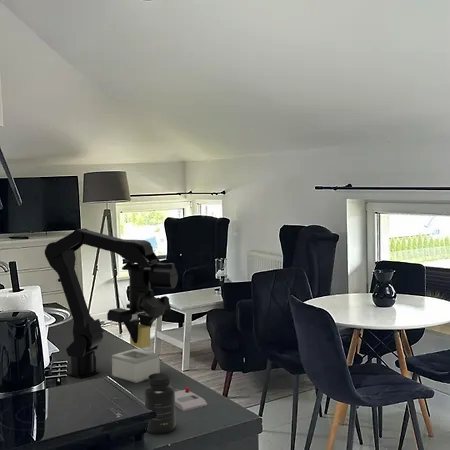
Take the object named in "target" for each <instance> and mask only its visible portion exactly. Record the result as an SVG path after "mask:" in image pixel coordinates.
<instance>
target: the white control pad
mask: <svg viewBox="0 0 450 450" xmlns="http://www.w3.org/2000/svg"><path fill="white" fill-rule="evenodd" d="M174 391H175V408H177V407H178V409H180V410H181V411H183V412H186V411H187V412H188V411H192V410H195V408H196V409H200V408H204V407H203V406H205V407H207V406H208V403H207V401H206V400H205V398H203V397H201V396H199V395H198V394H195V393H194V392H192V391H190V388H189V387H188V386H186V387H185V389H177V388H175V389H174ZM199 407H200V408H199Z"/></svg>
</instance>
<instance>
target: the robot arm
mask: <svg viewBox="0 0 450 450" xmlns="http://www.w3.org/2000/svg"><path fill="white" fill-rule="evenodd" d="M83 245H86V246H89V247H92V248H97V249H100V250H103V251H107V252H112V253H115V254H116V255H119V256H120V257H121V258H122V259H124V260H126V261H127V262H126V264H125V265H123V266H122V268H121V269H122V271H128V273H129V274H128V275H129V276H128V277H129V279H128V280H129V283H128V284H129V289H126V293H125V294H128V295H129V303H127V304H126V308H123V307H117V308H112V309H109V310H108V311H107V315H106V316H107V317H106V319H107V321H110V322H114V323H118V324H124V325H125V327H126V329H127V332H128V334H129V337H130V336H131V338H132V340H133V342H134V343H137V340H138V324H142V325H146V326H150V329H151V328H152V325H153V323H154V322H155V321H156V320H157V319H159V318H160V316H162V317H163V316H164V314H171V307H172V306H171V305H170V297H168V296H167V295H163V296H161V297H156V296H155V292H154V289H151V286H152V287H154V288H161V289H175V288H176V286H177V284H178V281H179V275H178V272H177V269H176V267H175V263H174V262H169V263H165V262H164V263H163V262H162V261H160V259H159V258H158V256H157V255H156V253H155V252H154V249H153V246H152V244H151V242H150V241H148V240H145V239H123V238H119V237H115V236H112V235H108V234H104V233H101V232H96V231H93V230H90V229H87V228H85V227H84V228H77V229H74V230H73V231H72V232H70V233H69V234H67V235H65V236H64V237H62V238H60V239H58V240H57V241H53V242H49V243H48V244H47V245H46V247H45V249H44V257H45V258H46V261H47V263H48V264H49V266H50V267H51V268H52V269H53V271H55V272H56V273H57V275H58V278H59V280H60V281H59V282H60V284H61V286H62V287H61V288H62V290H63V294H64V296H65V299H66V302H67V305H68V308H69V311H70V314H71V317H72V320H73V324H72V339H73V340H72V342H71V343H70V344H69V345H68V346H67V347H66V348H65V350H66V353H67V356H68V357H70V371H68V373H67V375H69V376H72V377H76V378H78V379H83V378H88V377H90V376H93V375H96V374H99V373H100V371H99V370H97V356H96V350H98V348H99V345H100V344H101V343H102V341H103V339H104V332H105V331H104V329H103V327H102V325H101V320H100V318H97V319H94V318H93V317H92V316H91V314H90V311H89V308H88V305H87V303H86V300H85V296H84V294H83V290H82V286H81V284H80V281H79V278H78V274H77V272H76V268H75V267H76V259H77V258H76V251H78V250H79V249H81V247H82V246H83Z"/></svg>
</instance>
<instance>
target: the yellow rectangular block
mask: <svg viewBox="0 0 450 450" xmlns="http://www.w3.org/2000/svg"><path fill="white" fill-rule="evenodd" d="M129 345H130V346H132V347H137V348H139V349H144V348H148V347H151V328H150V326H146V325H142V324H140V323H139V324H138V340H137V343H134V342H133V340H132V338H131V336H130V335H129Z"/></svg>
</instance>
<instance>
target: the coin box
mask: <svg viewBox="0 0 450 450" xmlns="http://www.w3.org/2000/svg"><path fill="white" fill-rule="evenodd" d="M160 366H161V365H160V354H159V353H155V352H151V351H147V350H144V349H141V348H139V349H138V348H133V349H130V350H126V351H122V352H118V353H115V354H112V355H111V368H112V369H111V371H112V372H111V374H112V377H114V378H118V379H122V380H124V381H125V380H126V381H128V382H132V383H134V384H135V383H136V384H137V383H140V382H143V381H145V380H148V377H149V376H150V375H151V374H155V373H161V370H160Z"/></svg>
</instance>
